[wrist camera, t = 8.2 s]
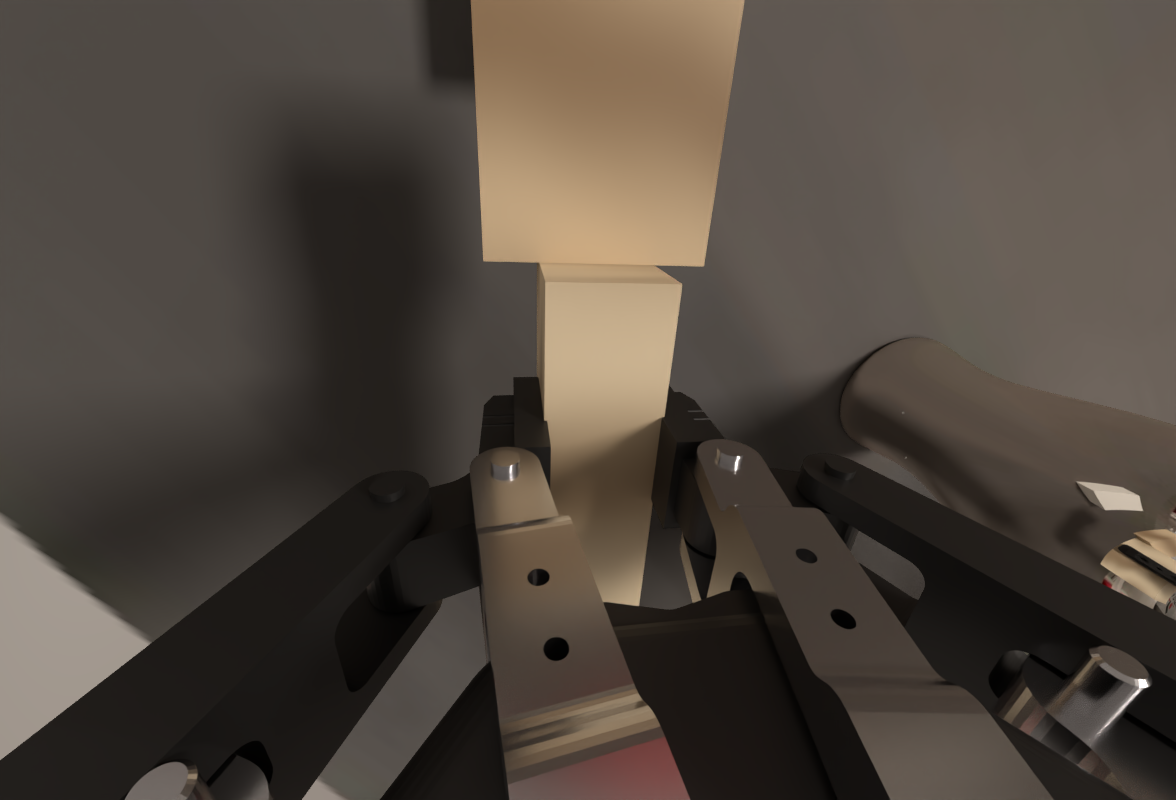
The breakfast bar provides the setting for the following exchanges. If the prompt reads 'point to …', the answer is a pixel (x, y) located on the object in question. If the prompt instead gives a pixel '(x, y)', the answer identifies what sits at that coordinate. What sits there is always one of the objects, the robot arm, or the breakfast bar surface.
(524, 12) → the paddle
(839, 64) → the breakfast bar surface
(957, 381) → the beer glass
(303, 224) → the breakfast bar surface
